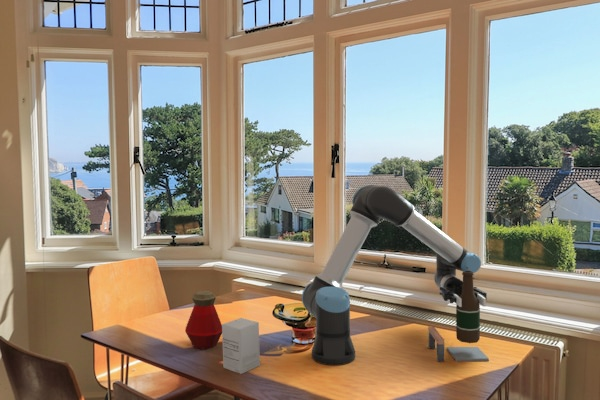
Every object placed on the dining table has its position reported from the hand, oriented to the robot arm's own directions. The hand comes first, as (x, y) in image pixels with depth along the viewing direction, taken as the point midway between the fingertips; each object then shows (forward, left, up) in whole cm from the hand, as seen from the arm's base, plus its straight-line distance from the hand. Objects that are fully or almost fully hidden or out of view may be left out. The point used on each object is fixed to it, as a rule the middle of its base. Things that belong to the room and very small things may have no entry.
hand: (472, 302), depth 165 cm
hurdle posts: (-11, +6, -20) cm, 23 cm away
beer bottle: (0, +5, -15) cm, 15 cm away
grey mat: (0, +5, -20) cm, 20 cm away
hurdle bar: (-11, +6, -14) cm, 18 cm away
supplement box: (-78, -4, -20) cm, 80 cm away
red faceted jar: (-95, +17, -20) cm, 98 cm away
